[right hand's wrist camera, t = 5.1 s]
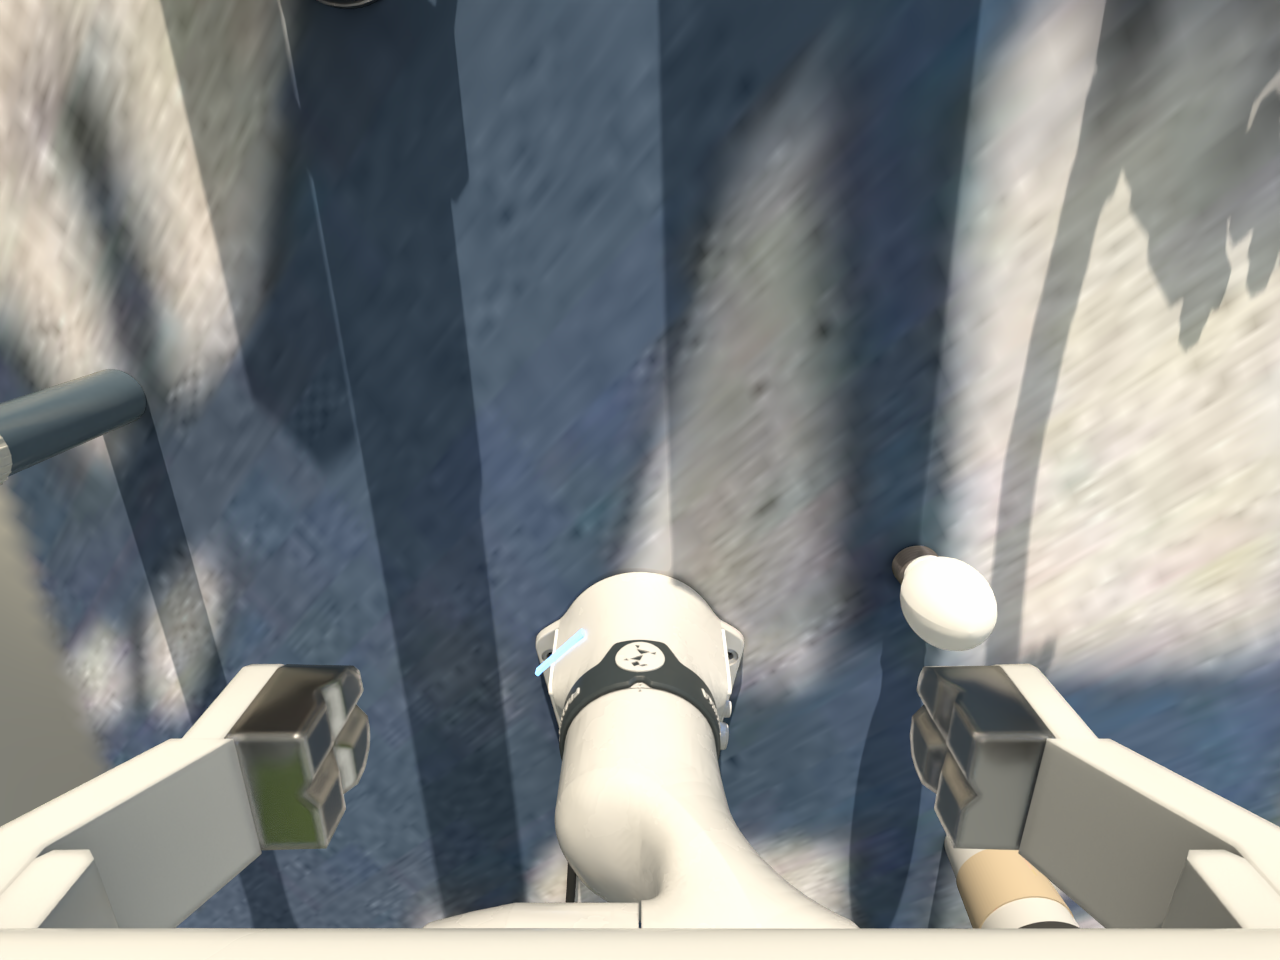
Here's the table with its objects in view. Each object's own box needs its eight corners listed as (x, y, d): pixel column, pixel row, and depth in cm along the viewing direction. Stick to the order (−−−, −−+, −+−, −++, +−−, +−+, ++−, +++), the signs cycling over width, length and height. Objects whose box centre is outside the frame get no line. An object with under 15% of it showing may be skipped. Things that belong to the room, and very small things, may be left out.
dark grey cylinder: (96, 359, 57) (-80, 411, 43) (152, 384, 58) (-3, 443, 44) (83, 407, 59) (-91, 473, 45) (138, 431, 59) (-16, 503, 45)
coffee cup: (920, 828, 74) (985, 974, 60) (1004, 793, 73) (1092, 935, 59) (953, 884, 77) (1022, 1036, 63) (1035, 852, 75) (1125, 1000, 62)
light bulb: (870, 593, 64) (914, 668, 54) (886, 524, 62) (935, 589, 52) (945, 599, 65) (1003, 675, 54) (964, 531, 62) (1028, 596, 52)
